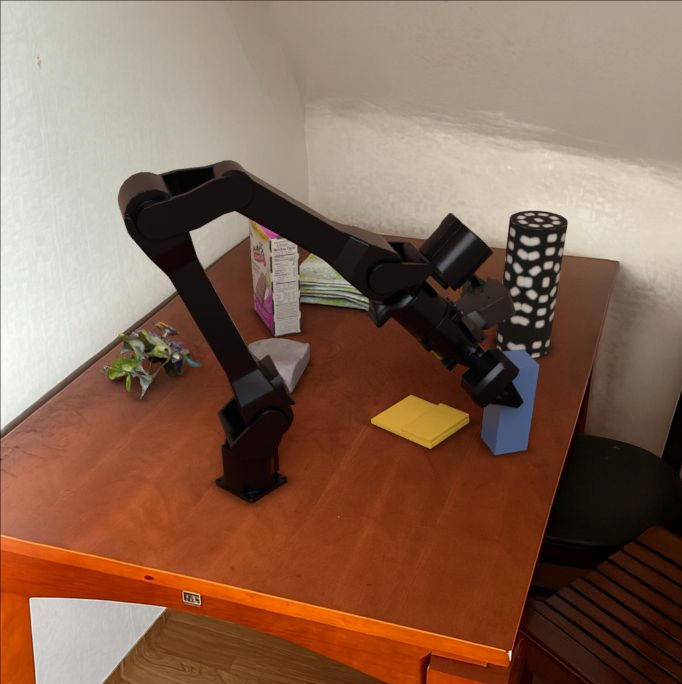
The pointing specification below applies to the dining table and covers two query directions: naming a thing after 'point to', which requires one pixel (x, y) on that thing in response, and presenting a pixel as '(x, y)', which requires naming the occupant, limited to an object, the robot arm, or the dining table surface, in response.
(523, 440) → the block
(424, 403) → the cloth
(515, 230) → the spotted tube
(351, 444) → the dining table surface
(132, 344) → the passion flower
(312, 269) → the towel
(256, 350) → the stone block
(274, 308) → the candy bar box
